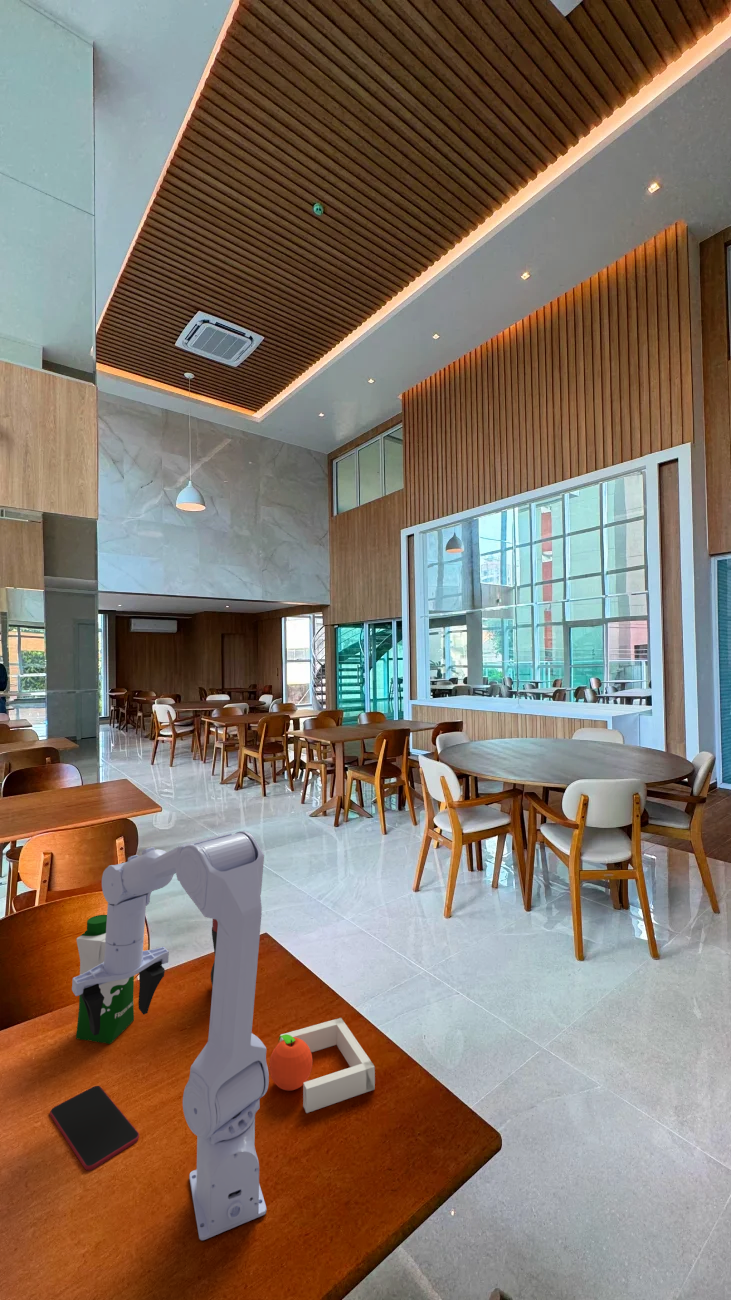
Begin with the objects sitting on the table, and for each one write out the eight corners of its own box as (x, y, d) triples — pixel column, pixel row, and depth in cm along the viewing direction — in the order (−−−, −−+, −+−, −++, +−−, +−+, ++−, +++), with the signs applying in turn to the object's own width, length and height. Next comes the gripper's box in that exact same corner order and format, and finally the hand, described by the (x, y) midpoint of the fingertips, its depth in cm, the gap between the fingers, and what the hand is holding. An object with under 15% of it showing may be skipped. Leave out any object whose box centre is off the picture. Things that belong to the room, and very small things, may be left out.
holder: (374, 1089, 88) (374, 1066, 88) (306, 1113, 83) (306, 1089, 83) (341, 1037, 100) (341, 1017, 100) (280, 1055, 95) (280, 1034, 96)
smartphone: (98, 1083, 88) (141, 1135, 78) (98, 1089, 88) (141, 1142, 78) (48, 1109, 83) (87, 1169, 73) (47, 1116, 83) (87, 1176, 73)
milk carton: (100, 1012, 107) (103, 908, 108) (141, 1018, 106) (144, 912, 107) (67, 1041, 99) (71, 928, 100) (112, 1048, 97) (115, 933, 98)
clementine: (258, 1078, 90) (259, 1033, 90) (295, 1060, 94) (296, 1018, 94) (282, 1109, 84) (282, 1060, 84) (320, 1088, 88) (320, 1042, 88)
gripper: (158, 913, 96) (153, 991, 96) (68, 940, 86) (62, 1027, 86) (176, 930, 91) (171, 1011, 91) (83, 960, 81) (77, 1052, 81)
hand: (119, 1020), depth 88 cm, fingers open, 7 cm apart
